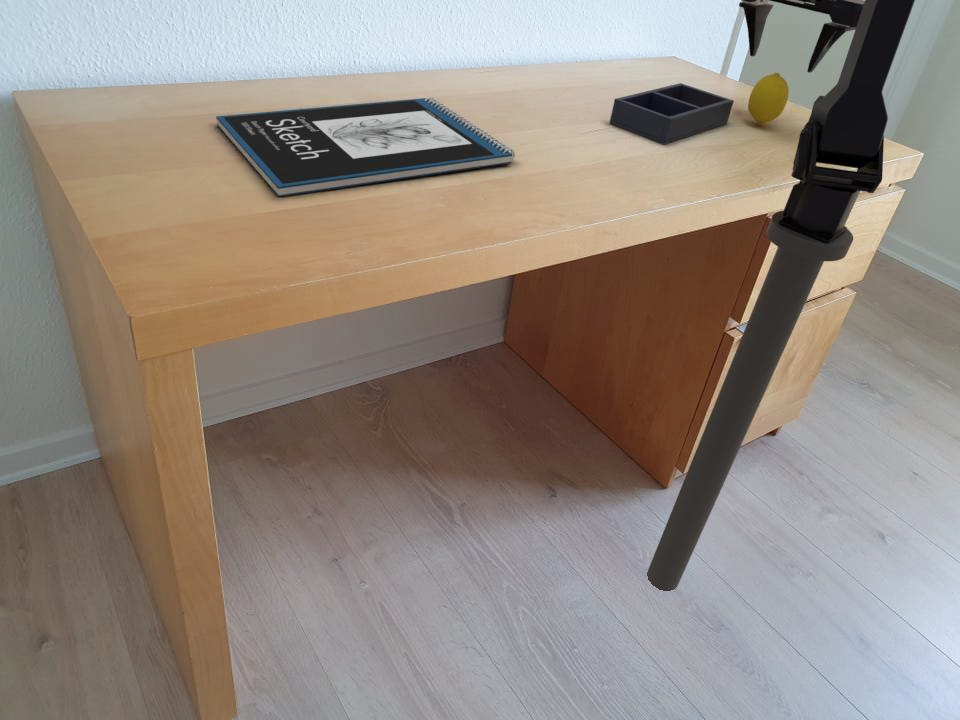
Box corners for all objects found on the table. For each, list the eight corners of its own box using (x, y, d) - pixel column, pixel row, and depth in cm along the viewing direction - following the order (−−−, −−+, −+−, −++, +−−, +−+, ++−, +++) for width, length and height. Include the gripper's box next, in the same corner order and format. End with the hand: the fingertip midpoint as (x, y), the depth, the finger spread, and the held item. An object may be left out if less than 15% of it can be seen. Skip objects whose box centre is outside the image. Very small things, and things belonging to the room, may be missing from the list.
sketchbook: (216, 127, 87) (215, 110, 86) (432, 109, 102) (433, 94, 100) (278, 198, 73) (277, 178, 72) (517, 165, 88) (520, 148, 86)
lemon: (769, 121, 115) (787, 69, 111) (782, 132, 111) (801, 79, 106) (736, 117, 115) (753, 65, 110) (748, 129, 110) (766, 75, 106)
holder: (726, 123, 112) (734, 100, 109) (664, 144, 100) (671, 119, 98) (674, 105, 116) (680, 82, 114) (609, 123, 105) (614, 98, 103)
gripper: (909, -43, 98) (860, 74, 108) (782, -66, 108) (748, 43, 117) (881, -42, 91) (832, 83, 101) (749, -67, 101) (715, 50, 110)
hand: (780, 63), depth 107 cm, fingers open, 9 cm apart
